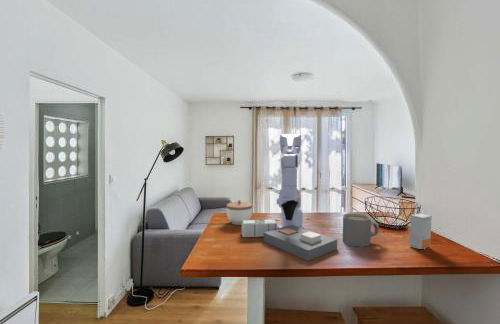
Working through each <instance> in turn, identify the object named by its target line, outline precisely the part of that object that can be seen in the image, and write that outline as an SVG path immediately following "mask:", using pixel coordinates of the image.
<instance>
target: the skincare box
mask: <svg viewBox="0 0 500 324" xmlns="http://www.w3.org/2000/svg"><path fill="white" fill-rule="evenodd" d="M409 226H410V228H409V246H412V247H415V248H419V249H424V248H426V247H429V246H430V247H431V237H432V234H431V233H432V215H429V214H426V213H415V214H411V215H410V225H409ZM424 250H425V249H424Z"/></svg>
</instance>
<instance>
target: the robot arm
mask: <svg viewBox="0 0 500 324" xmlns="http://www.w3.org/2000/svg"><path fill="white" fill-rule="evenodd" d="M301 147H302V135H301V133H281V134H280V135H279V149H280V153H281V154H282V155H281V156H280V168H281V169H280V171H281V189H280V190H279V193H278V198H276V205H278V207H279V208H280V209H281V225H277V227H278V228H282V227H286V226H290V225H294V226H297V227H300V228H303V229H305V226H303V218H304V217H303V211H302V209H301V208H302V207H301V206H302V204H301V202H302V198H301V197H302V196H301V191H300V190H299V189H298V188H297V187H298V184H297V183H298V181H297V178H298V169H299V156H298V155H299V154H300V152H301Z"/></svg>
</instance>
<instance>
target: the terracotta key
mask: <svg viewBox="0 0 500 324" xmlns="http://www.w3.org/2000/svg"><path fill="white" fill-rule="evenodd" d="M279 232H280V233H282V234H285V235H288V236H289V235H292V234H296V233H297V231H295V230H292V229H289V228H286V229H283V230H279Z"/></svg>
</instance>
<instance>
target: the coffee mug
mask: <svg viewBox="0 0 500 324" xmlns="http://www.w3.org/2000/svg"><path fill="white" fill-rule="evenodd" d="M372 226H374V230H373V231H372ZM379 230H380V226H379V223H377V221H376V220H372V218H371V216H369V215H366V214H363V213H362V214H361V213H352V212H351V213H350V212H349V213H344V214H343V216H342V242H343V243H344V244H345V243H346V245H348V246H350V247H355V246H358V248H366V247H365V246H367V247H369V245H370V246H371V238H373V237H375V236H377V235H378V234H379Z"/></svg>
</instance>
